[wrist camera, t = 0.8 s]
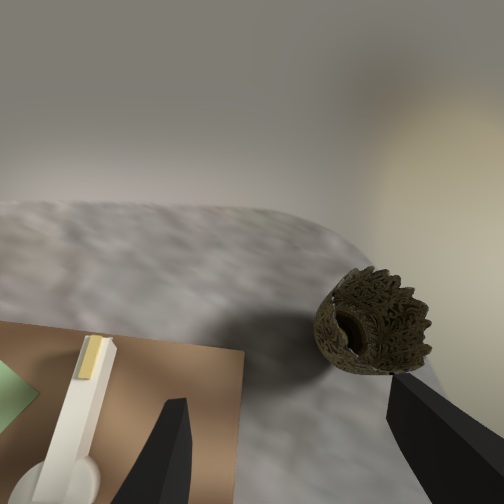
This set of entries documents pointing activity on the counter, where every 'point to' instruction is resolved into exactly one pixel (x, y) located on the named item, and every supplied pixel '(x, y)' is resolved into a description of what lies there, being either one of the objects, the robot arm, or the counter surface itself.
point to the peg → (73, 435)
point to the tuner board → (119, 405)
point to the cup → (372, 325)
